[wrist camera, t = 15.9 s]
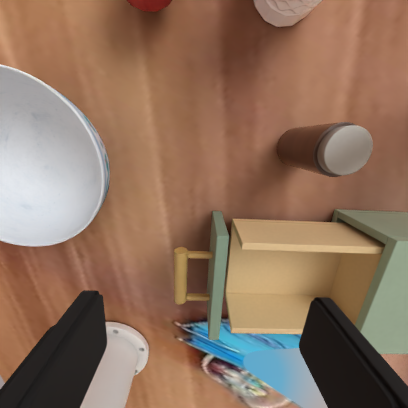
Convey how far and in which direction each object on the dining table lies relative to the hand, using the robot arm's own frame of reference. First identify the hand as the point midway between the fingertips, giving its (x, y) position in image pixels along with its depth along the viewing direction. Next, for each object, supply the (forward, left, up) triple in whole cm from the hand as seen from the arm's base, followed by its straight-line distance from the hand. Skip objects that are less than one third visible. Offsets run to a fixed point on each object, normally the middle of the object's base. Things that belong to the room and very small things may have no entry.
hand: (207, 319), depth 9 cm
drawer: (+11, +1, -17) cm, 20 cm away
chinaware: (-15, -8, -18) cm, 25 cm away
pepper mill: (+3, +13, -18) cm, 22 cm away
